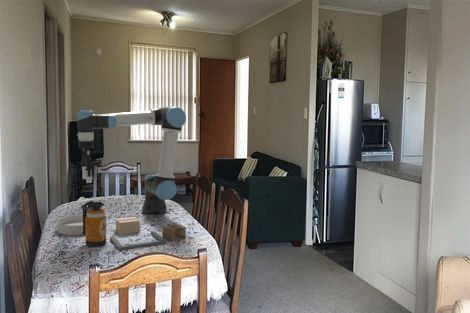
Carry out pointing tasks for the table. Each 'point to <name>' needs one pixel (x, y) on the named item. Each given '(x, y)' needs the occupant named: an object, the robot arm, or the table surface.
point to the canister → (94, 223)
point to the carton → (127, 225)
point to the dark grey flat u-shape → (157, 236)
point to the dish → (70, 225)
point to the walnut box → (174, 232)
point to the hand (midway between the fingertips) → (87, 180)
